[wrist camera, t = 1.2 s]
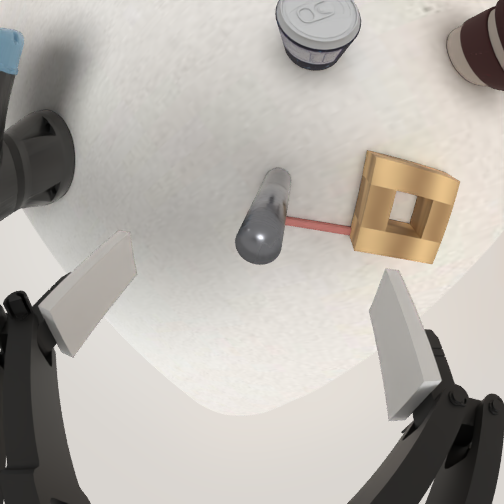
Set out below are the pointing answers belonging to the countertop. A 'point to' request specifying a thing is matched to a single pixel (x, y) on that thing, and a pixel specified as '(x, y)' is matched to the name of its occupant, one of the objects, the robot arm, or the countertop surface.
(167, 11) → the countertop surface
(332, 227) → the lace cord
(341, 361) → the countertop surface
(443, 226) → the wooden square frame
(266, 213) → the grey capsule rod
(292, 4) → the beverage can
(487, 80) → the coffee cup
